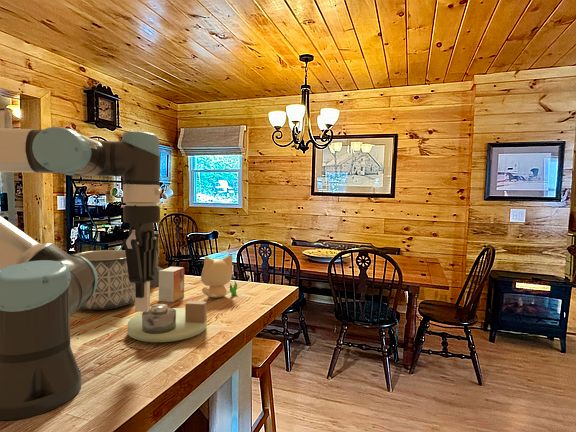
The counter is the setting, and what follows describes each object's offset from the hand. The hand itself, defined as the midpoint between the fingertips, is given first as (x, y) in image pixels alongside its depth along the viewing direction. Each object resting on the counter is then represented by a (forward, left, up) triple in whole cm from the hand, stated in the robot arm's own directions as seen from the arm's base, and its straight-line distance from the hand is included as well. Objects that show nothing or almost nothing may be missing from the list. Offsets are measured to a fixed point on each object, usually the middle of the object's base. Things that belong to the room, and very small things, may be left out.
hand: (142, 310), depth 82 cm
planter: (+35, +28, -11) cm, 46 cm away
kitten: (+50, -5, -11) cm, 51 cm away
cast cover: (+10, 0, -8) cm, 13 cm away
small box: (+45, +10, -11) cm, 47 cm away
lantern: (+64, +29, -11) cm, 71 cm away
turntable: (+16, 0, -11) cm, 19 cm away
